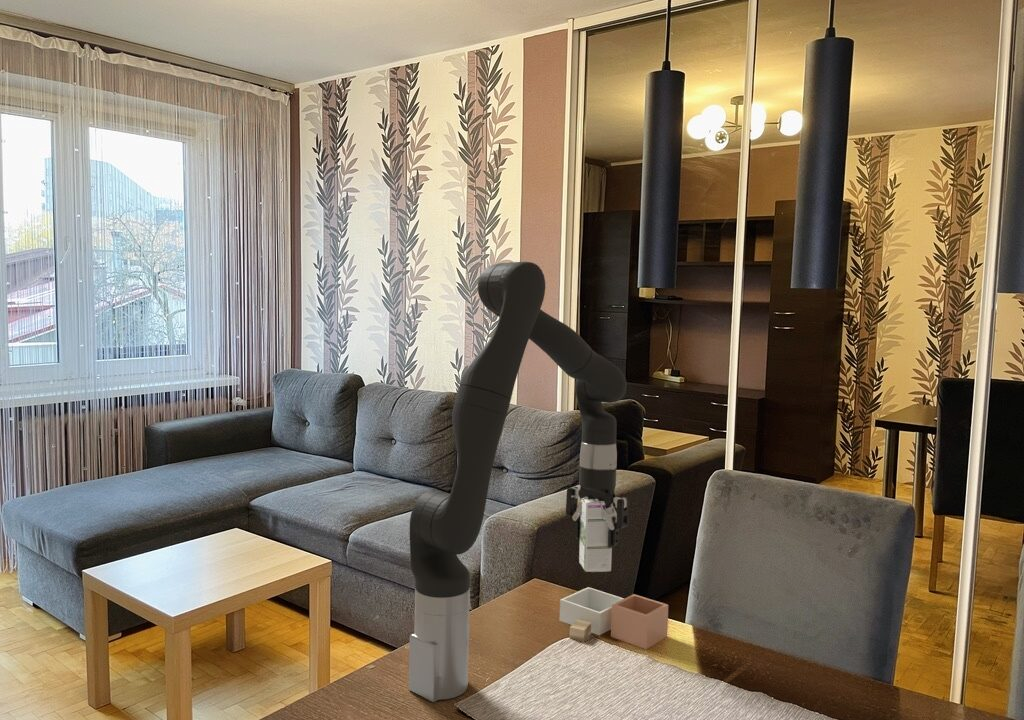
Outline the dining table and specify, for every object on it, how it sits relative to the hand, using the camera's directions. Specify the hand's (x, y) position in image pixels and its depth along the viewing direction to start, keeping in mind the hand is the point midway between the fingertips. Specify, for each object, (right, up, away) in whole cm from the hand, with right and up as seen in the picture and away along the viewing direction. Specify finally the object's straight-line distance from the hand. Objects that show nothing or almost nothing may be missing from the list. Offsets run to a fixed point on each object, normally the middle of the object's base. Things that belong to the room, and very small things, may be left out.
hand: (595, 542), depth 153 cm
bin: (0, -17, +1) cm, 17 cm away
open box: (+8, -18, -6) cm, 20 cm away
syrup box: (0, -5, 0) cm, 5 cm away
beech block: (-4, -18, -7) cm, 19 cm away
